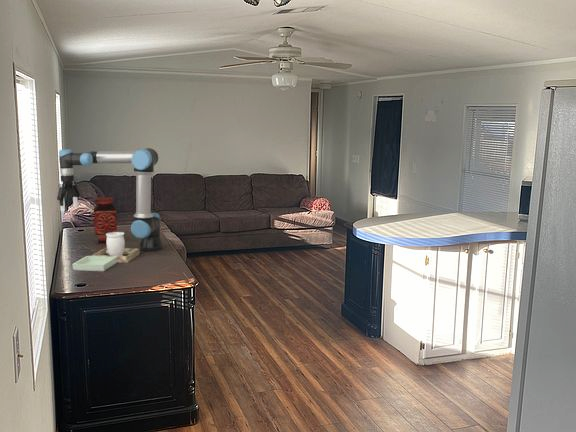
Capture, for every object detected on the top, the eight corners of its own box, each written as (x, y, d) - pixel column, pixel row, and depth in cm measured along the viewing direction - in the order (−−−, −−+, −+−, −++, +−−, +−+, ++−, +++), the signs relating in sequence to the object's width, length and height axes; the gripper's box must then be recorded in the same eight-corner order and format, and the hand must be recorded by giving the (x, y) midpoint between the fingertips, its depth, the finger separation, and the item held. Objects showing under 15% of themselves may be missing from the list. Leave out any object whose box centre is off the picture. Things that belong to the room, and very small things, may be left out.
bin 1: (116, 262, 334) (116, 256, 333) (103, 271, 316) (103, 265, 316) (87, 261, 336) (87, 255, 335) (72, 270, 318) (72, 263, 318)
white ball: (136, 254, 352) (136, 249, 352) (134, 256, 349) (134, 250, 349) (131, 254, 353) (131, 249, 352) (129, 255, 350) (129, 250, 349)
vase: (117, 239, 391) (114, 196, 386) (117, 244, 379) (115, 199, 373) (95, 241, 387) (93, 197, 381) (95, 245, 374) (93, 200, 369)
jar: (108, 260, 338) (107, 235, 335) (105, 256, 347) (104, 232, 344) (127, 258, 343) (126, 234, 340) (123, 254, 352) (122, 230, 349)
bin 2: (139, 254, 354) (139, 248, 353) (127, 262, 334) (127, 256, 334) (105, 252, 356) (105, 247, 355) (91, 261, 337) (91, 255, 336)
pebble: (112, 253, 354) (111, 248, 353) (110, 255, 351) (109, 250, 350) (107, 253, 354) (107, 248, 354) (105, 254, 351) (104, 249, 351)
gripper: (73, 172, 363) (75, 205, 367) (49, 177, 339) (51, 212, 343) (84, 172, 362) (86, 205, 366) (60, 177, 338) (62, 212, 342)
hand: (69, 209), depth 354 cm, fingers open, 13 cm apart
